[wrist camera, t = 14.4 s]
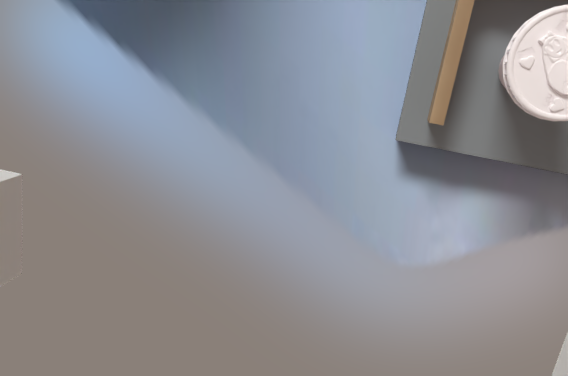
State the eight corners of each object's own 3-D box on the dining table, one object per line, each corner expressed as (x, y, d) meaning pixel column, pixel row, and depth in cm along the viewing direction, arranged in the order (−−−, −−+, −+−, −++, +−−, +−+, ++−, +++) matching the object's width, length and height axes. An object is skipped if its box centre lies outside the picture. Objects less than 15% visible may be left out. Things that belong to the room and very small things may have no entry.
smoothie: (516, 131, 38) (582, 155, 25) (460, 67, 38) (495, 56, 25) (593, 71, 36) (708, 63, 23) (534, 4, 36) (614, -45, 23)
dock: (395, 136, 43) (395, 140, 40) (432, -26, 40) (435, -35, 37) (598, 176, 40) (613, 183, 37) (654, 5, 37) (676, -2, 34)
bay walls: (427, 119, 39) (429, 122, 37) (463, -31, 37) (468, -41, 34) (593, 151, 37) (608, 157, 34) (643, -6, 35) (665, -14, 32)
